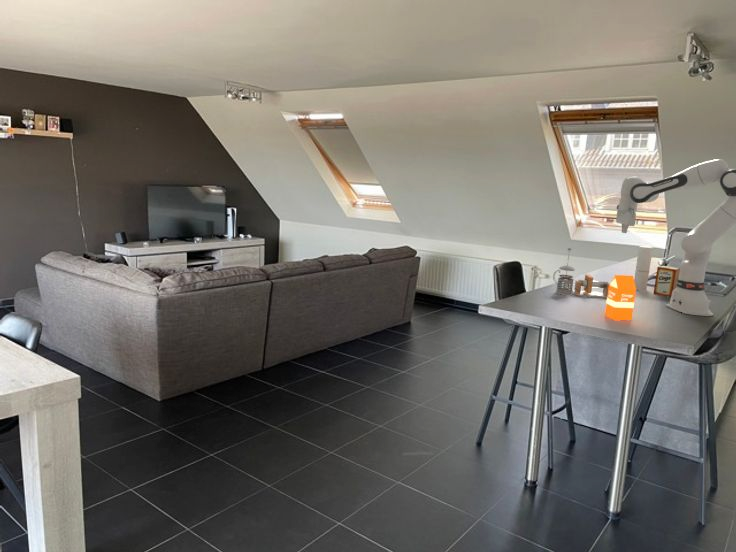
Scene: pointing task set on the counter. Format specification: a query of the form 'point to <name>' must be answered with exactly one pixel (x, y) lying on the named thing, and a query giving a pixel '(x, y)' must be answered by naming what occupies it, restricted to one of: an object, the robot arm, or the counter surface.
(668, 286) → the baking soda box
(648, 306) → the counter surface
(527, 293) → the counter surface
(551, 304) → the counter surface
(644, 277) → the cylindrical container
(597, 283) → the pipe rig
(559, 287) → the french press
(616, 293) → the orange juice
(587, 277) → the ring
